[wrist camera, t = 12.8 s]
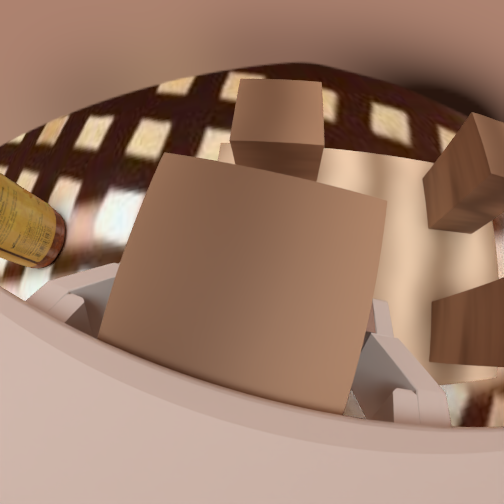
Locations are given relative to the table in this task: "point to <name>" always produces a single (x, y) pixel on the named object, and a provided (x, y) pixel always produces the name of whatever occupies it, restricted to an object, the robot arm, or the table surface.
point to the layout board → (402, 220)
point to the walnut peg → (249, 281)
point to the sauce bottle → (28, 227)
